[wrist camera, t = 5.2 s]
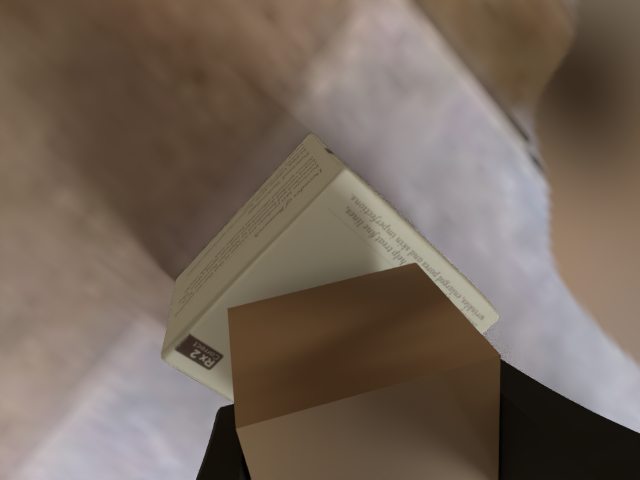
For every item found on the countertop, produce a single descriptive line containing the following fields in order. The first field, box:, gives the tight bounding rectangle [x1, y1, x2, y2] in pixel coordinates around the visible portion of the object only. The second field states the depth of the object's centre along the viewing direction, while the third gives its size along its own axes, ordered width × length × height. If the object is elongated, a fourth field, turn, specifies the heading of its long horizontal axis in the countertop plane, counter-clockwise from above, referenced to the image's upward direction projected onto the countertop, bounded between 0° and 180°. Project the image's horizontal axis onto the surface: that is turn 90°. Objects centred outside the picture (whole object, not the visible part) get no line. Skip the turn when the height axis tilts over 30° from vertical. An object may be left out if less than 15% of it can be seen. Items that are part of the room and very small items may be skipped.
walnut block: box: [227, 262, 500, 480], centre depth 11 cm, size 5×5×4 cm
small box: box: [161, 133, 500, 402], centre depth 17 cm, size 8×8×5 cm
